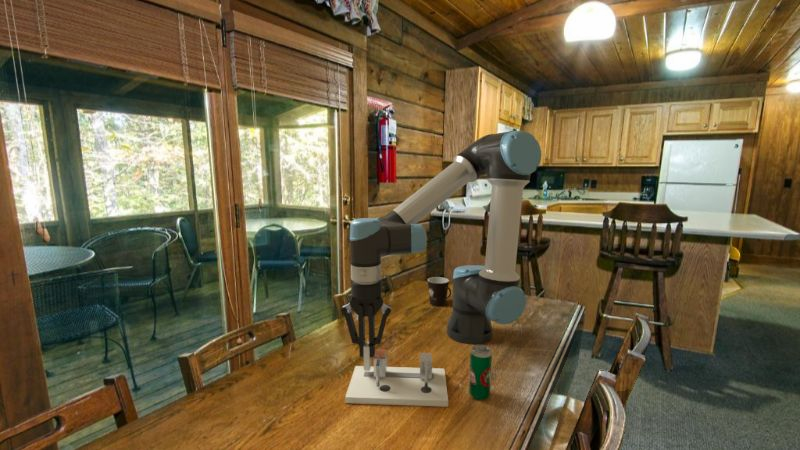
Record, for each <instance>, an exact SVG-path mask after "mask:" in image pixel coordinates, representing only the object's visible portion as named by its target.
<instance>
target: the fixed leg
mask: <svg viewBox="0 0 800 450" xmlns="http://www.w3.org/2000/svg"><path fill="white" fill-rule="evenodd" d="M419 365H420V366H419V368H420V379H425V388H426V389H427V388H428V380H432V368H433V353H430V352H420V353H419Z"/></svg>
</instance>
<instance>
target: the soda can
mask: <svg viewBox="0 0 800 450" xmlns="http://www.w3.org/2000/svg"><path fill="white" fill-rule="evenodd" d="M469 354H470V355H469V382H468V384H469V385H468V393H469V395H470V396H471V397H472V398H474V399H475V400H477V401H478V400H479V401H484V400H488V398H489V397H490V396H491V387H492V386H491V385H492V384H491V383H492V363H493V362H492V359H493V358H492V357H493V353H492V351H491V348H490V347H489V346H487V345H484V344H473V346H472V347H471V350H470V352H469Z"/></svg>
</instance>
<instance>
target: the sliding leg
mask: <svg viewBox="0 0 800 450" xmlns="http://www.w3.org/2000/svg"><path fill="white" fill-rule="evenodd" d="M373 366H374V377H376V387H379V386H380V378H379V377H386V372H387V367H388V352H387V350H386V348H375V354H374V357H373Z"/></svg>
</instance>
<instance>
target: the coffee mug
mask: <svg viewBox="0 0 800 450" xmlns="http://www.w3.org/2000/svg"><path fill="white" fill-rule="evenodd" d="M449 283H450V280H449V279H448V278H446V277H443V276H442V277H440V276H434V277H433V276H432V277H429V278H427V287H428V297H429V304H430V305H431V306H432V307H436V308H437V307H438V308H439V307H444V306H446V304H447V299H449V298H450V297H451V295H452V290H451V288H450V286H449ZM448 291H449V294H448Z"/></svg>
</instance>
